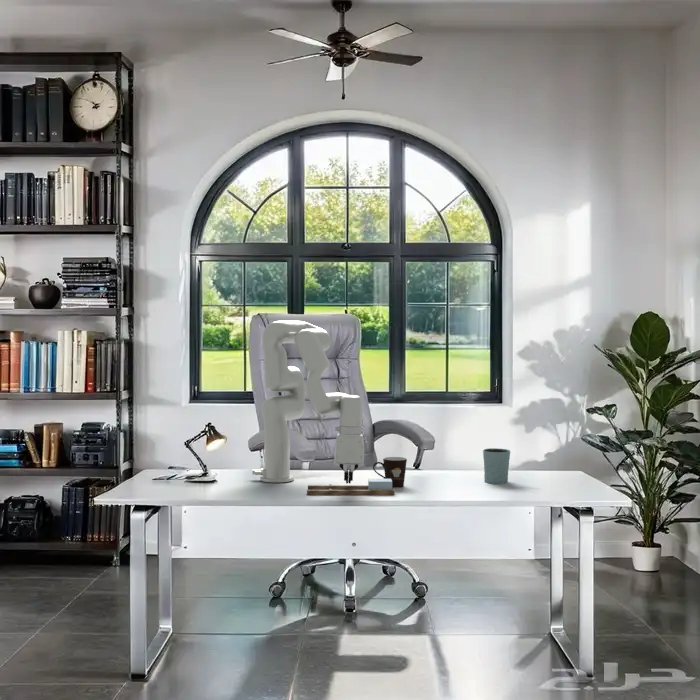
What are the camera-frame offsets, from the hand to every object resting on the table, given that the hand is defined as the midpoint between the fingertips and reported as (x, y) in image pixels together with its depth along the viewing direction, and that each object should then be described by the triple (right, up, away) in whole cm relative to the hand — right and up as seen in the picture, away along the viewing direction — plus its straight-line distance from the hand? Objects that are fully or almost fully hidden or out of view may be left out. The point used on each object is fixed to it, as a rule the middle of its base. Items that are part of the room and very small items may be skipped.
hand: (348, 482), depth 316 cm
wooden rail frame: (+1, -3, -1) cm, 3 cm away
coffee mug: (+16, -3, +13) cm, 20 cm away
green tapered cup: (+55, -3, +22) cm, 59 cm away
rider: (+11, -4, 0) cm, 12 cm away
